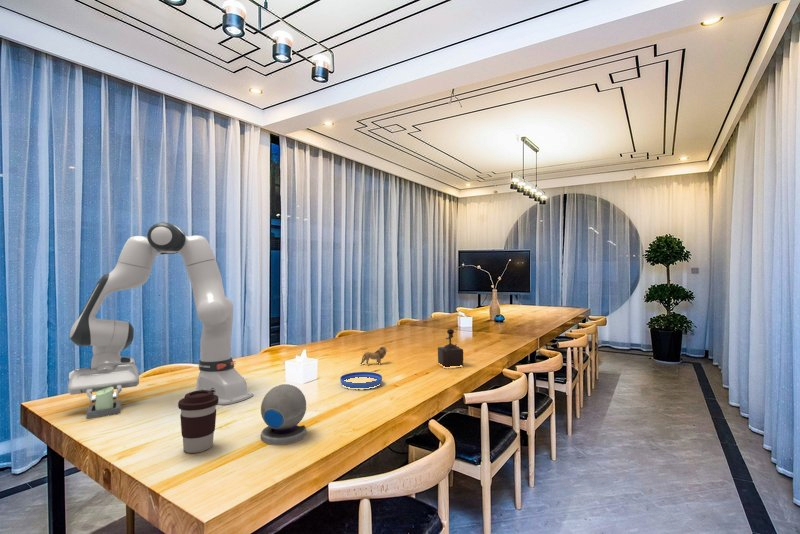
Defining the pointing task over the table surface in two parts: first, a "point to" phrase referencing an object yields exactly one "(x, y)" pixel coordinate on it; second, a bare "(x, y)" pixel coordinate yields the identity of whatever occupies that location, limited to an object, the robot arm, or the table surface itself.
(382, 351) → the lion figurine
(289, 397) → the webcam
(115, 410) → the holder collar
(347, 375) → the blue ring
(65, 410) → the table surface
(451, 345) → the black block with stem
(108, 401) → the candle
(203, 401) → the coffee cup
